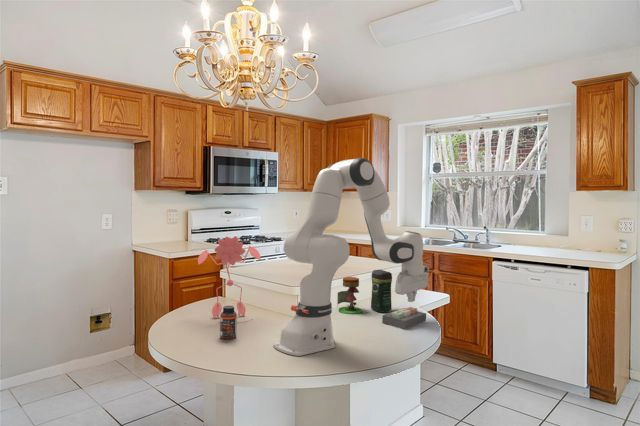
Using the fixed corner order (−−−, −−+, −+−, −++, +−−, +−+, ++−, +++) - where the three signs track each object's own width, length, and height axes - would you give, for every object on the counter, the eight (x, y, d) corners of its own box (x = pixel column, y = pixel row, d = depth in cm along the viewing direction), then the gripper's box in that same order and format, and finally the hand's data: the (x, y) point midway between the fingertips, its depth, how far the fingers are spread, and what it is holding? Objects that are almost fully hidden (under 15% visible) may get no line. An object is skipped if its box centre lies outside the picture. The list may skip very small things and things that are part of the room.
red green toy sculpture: (368, 309, 198) (369, 277, 198) (355, 315, 188) (356, 282, 187) (346, 305, 205) (347, 274, 204) (332, 311, 194) (333, 278, 194)
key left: (398, 320, 173) (398, 314, 173) (391, 318, 176) (391, 312, 176) (403, 318, 176) (403, 312, 176) (396, 317, 178) (396, 310, 178)
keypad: (404, 329, 170) (405, 321, 170) (382, 323, 178) (382, 315, 177) (426, 321, 181) (426, 313, 181) (404, 315, 189) (404, 308, 189)
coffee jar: (394, 311, 195) (395, 271, 194) (380, 313, 192) (380, 272, 191) (382, 306, 204) (382, 268, 203) (368, 308, 200) (368, 269, 199)
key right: (412, 315, 180) (412, 309, 180) (405, 314, 183) (405, 308, 183) (416, 314, 183) (417, 308, 183) (409, 312, 185) (410, 306, 185)
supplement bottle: (220, 340, 154) (220, 309, 154) (219, 335, 160) (219, 305, 159) (237, 339, 156) (237, 308, 155) (235, 333, 162) (236, 304, 161)
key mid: (405, 318, 177) (405, 311, 177) (398, 316, 179) (398, 310, 179) (410, 316, 179) (410, 310, 179) (403, 314, 182) (403, 308, 182)
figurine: (197, 315, 184) (198, 234, 182) (257, 312, 191) (258, 234, 189) (197, 327, 170) (197, 239, 167) (262, 323, 176) (263, 238, 174)
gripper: (404, 273, 173) (404, 307, 173) (430, 267, 187) (430, 298, 188) (391, 271, 177) (391, 304, 178) (418, 265, 192) (417, 296, 192)
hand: (411, 301), depth 183 cm, fingers closed
